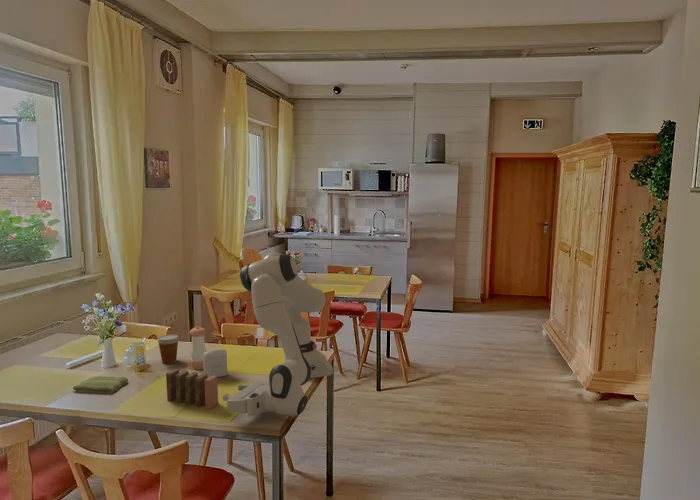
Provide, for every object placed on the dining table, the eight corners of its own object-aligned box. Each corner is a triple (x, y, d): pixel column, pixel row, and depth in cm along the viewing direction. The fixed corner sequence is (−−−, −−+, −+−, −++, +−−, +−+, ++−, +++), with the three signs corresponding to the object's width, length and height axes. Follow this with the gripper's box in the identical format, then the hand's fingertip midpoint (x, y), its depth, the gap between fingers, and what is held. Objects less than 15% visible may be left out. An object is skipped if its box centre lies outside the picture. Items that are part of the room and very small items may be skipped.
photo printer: (225, 372, 220) (224, 345, 218) (228, 375, 216) (228, 348, 215) (202, 377, 214) (201, 350, 213) (205, 380, 211) (204, 352, 209)
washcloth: (91, 380, 212) (90, 373, 211) (130, 382, 210) (129, 375, 209) (70, 393, 199) (70, 386, 198) (111, 395, 197) (111, 388, 196)
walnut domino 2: (189, 397, 194) (188, 371, 192) (180, 403, 189) (179, 375, 188) (185, 397, 194) (184, 370, 193) (176, 402, 190) (175, 374, 188)
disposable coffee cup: (167, 366, 227) (166, 341, 225) (154, 362, 232) (152, 338, 230) (184, 360, 235) (183, 336, 233) (171, 356, 240) (169, 332, 238)
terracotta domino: (218, 403, 189) (217, 375, 187) (210, 408, 184) (208, 380, 183) (213, 402, 189) (212, 375, 188) (205, 407, 185) (204, 379, 183)
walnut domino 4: (208, 401, 190) (207, 374, 189) (200, 406, 186) (198, 379, 184) (204, 400, 191) (203, 373, 190) (195, 406, 186) (194, 378, 185)
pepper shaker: (187, 368, 225) (185, 327, 222) (197, 363, 232) (196, 323, 229) (200, 370, 222) (198, 329, 220) (210, 365, 229) (209, 325, 226)
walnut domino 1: (180, 396, 195) (179, 369, 194) (171, 401, 191) (170, 373, 189) (176, 395, 196) (175, 368, 195) (167, 400, 191) (166, 373, 190)
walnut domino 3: (198, 399, 192) (197, 372, 191) (190, 405, 187) (189, 377, 186) (194, 398, 193) (193, 371, 191) (186, 404, 188) (184, 376, 187)
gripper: (278, 379, 187) (247, 374, 192) (248, 400, 168) (214, 394, 173) (278, 395, 187) (247, 389, 192) (248, 418, 169) (215, 411, 174)
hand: (231, 392), depth 182 cm, fingers open, 8 cm apart
